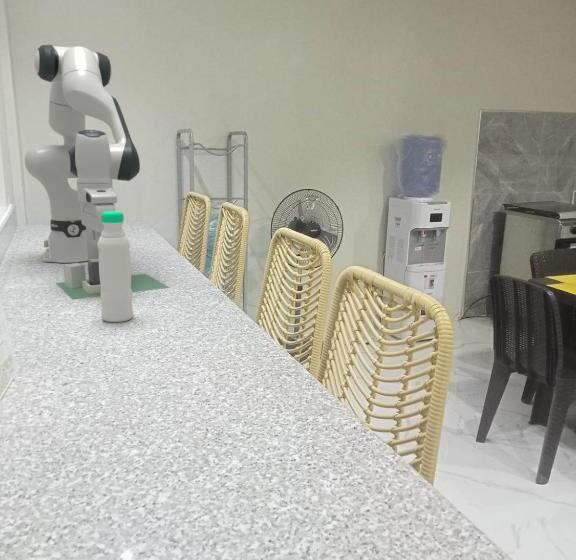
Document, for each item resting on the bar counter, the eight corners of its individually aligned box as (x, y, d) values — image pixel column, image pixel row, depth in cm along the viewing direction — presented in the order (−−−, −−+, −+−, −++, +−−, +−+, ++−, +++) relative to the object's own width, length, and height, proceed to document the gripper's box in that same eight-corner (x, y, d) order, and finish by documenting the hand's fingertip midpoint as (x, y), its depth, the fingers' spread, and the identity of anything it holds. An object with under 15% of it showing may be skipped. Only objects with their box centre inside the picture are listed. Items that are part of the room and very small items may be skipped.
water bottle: (139, 316, 135) (134, 211, 129) (121, 324, 129) (116, 214, 123) (114, 313, 137) (108, 209, 132) (95, 321, 131) (88, 212, 125)
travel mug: (104, 277, 173) (101, 212, 169) (85, 276, 174) (80, 211, 170) (114, 273, 179) (111, 209, 175) (95, 272, 180) (91, 209, 176)
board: (56, 287, 161) (55, 276, 160) (145, 277, 175) (145, 267, 174) (72, 303, 144) (72, 291, 144) (170, 291, 158) (169, 280, 158)
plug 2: (88, 288, 156) (87, 258, 154) (107, 285, 158) (105, 257, 156) (93, 291, 152) (91, 261, 150) (112, 289, 154) (110, 260, 152)
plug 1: (63, 285, 158) (62, 264, 157) (77, 283, 161) (75, 262, 160) (72, 288, 155) (70, 266, 153) (86, 286, 158) (84, 264, 156)
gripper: (73, 191, 155) (76, 241, 159) (93, 197, 139) (96, 253, 142) (96, 190, 159) (99, 239, 162) (119, 196, 142) (121, 251, 145)
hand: (98, 246), depth 152 cm, fingers closed
